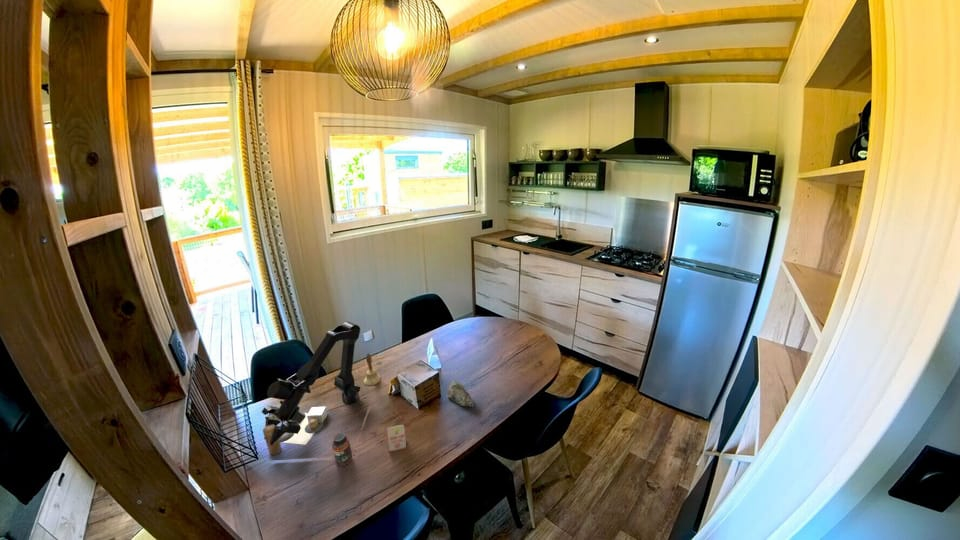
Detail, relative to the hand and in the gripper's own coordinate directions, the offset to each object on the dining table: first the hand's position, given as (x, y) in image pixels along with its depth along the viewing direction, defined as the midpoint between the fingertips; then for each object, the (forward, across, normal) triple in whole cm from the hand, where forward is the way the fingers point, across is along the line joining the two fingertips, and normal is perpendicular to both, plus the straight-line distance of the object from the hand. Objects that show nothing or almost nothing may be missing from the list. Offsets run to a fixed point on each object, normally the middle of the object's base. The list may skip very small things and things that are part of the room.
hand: (268, 442), depth 125 cm
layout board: (-4, +3, -14) cm, 15 cm away
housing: (-10, +2, -18) cm, 21 cm away
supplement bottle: (-5, -25, -15) cm, 29 cm away
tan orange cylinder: (+4, 0, -6) cm, 7 cm away
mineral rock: (-40, -43, -50) cm, 77 cm away
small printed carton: (-16, -37, -26) cm, 48 cm away
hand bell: (-31, +5, -41) cm, 52 cm away
